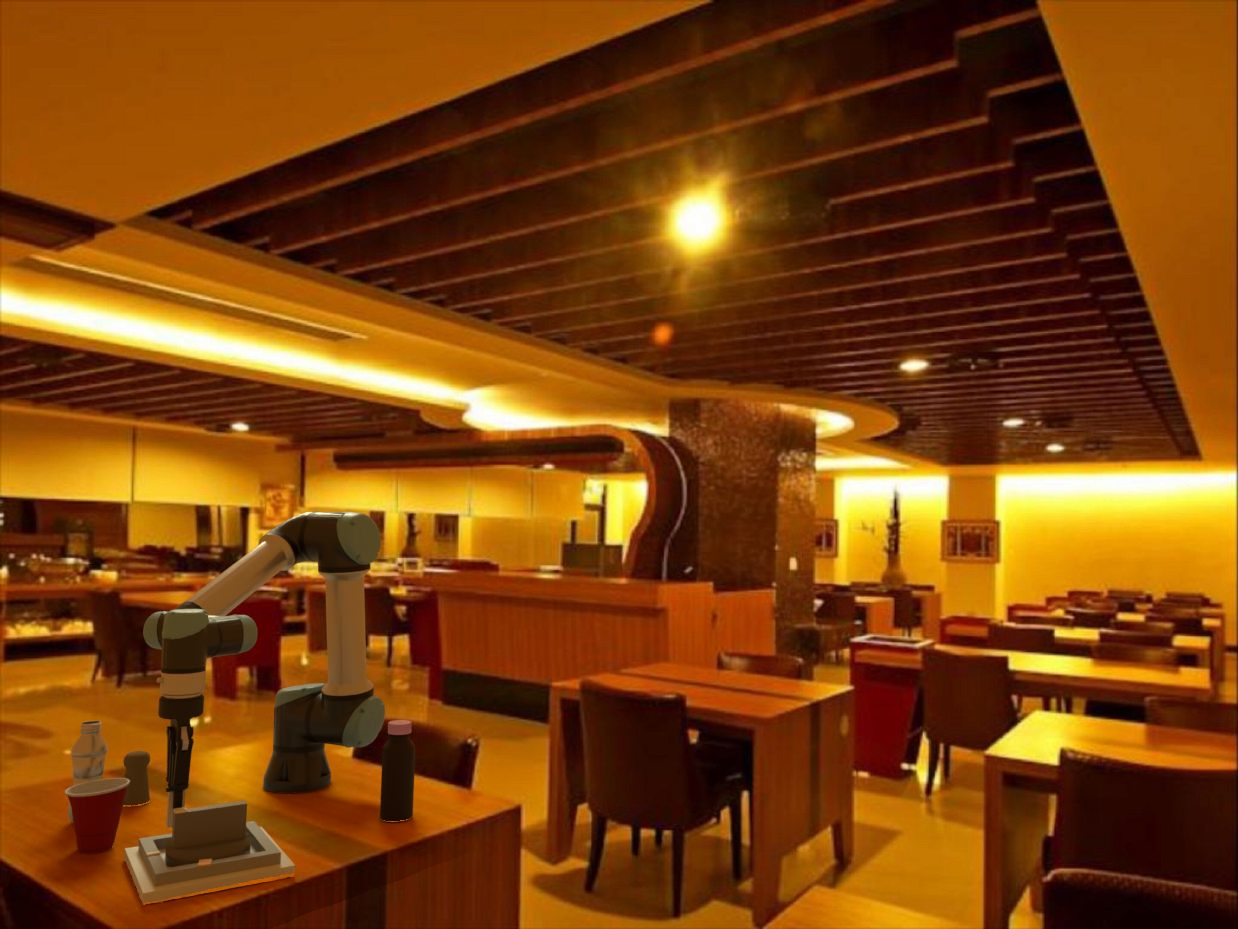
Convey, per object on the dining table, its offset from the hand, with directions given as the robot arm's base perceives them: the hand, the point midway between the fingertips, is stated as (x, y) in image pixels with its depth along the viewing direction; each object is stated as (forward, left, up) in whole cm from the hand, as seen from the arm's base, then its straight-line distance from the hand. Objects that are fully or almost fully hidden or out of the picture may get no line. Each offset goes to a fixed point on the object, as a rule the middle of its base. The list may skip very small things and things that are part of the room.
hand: (174, 825), depth 169 cm
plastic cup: (+11, -15, -7) cm, 20 cm away
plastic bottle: (+11, -33, -7) cm, 35 cm away
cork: (+1, -42, -7) cm, 42 cm away
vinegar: (-44, -4, -7) cm, 44 cm away
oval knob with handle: (-5, +6, -5) cm, 9 cm away
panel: (-5, +6, -7) cm, 10 cm away
